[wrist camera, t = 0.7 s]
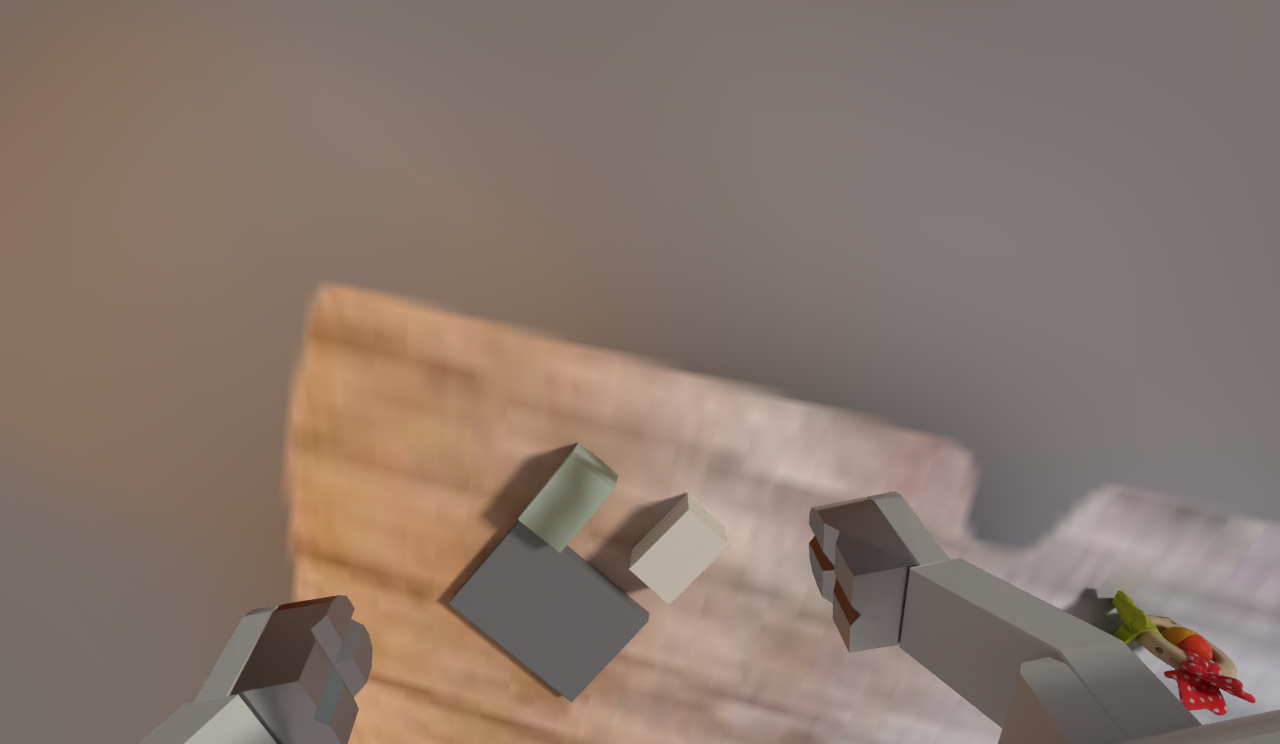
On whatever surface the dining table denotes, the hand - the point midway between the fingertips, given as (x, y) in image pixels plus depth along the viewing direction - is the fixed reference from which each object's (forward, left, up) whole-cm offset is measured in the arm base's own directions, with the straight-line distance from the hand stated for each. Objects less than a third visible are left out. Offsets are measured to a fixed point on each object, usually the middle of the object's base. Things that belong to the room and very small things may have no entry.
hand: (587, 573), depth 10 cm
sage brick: (-3, +17, -46) cm, 49 cm away
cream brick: (-14, +14, -46) cm, 50 cm away
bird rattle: (-52, -9, -46) cm, 70 cm away
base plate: (-9, +28, -45) cm, 54 cm away
